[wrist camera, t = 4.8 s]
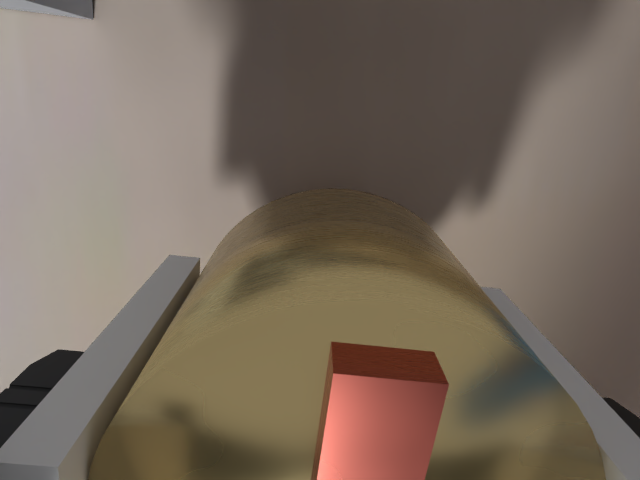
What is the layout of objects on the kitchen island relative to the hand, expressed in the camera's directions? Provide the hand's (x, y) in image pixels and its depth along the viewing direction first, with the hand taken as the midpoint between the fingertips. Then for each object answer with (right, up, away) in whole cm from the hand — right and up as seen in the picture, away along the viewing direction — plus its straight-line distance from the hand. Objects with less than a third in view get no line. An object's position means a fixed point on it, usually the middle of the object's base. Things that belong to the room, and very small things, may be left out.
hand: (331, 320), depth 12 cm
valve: (0, +1, +2) cm, 3 cm away
